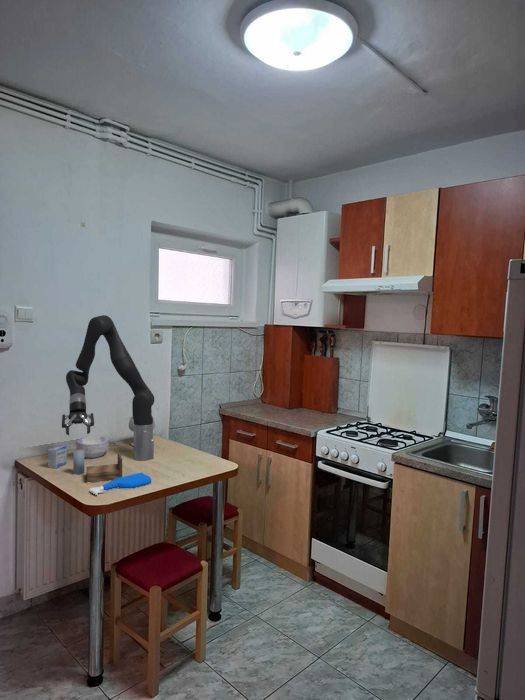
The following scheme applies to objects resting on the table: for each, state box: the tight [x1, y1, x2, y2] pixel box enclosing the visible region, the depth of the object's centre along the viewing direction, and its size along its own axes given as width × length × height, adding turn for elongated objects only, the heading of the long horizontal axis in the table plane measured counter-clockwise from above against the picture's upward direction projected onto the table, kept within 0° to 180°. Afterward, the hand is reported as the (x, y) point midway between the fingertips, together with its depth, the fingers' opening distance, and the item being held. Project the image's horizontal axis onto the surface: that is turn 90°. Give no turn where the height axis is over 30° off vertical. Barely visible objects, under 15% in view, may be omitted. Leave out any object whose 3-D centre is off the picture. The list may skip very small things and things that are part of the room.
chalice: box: [128, 416, 156, 447], centre depth 260 cm, size 14×14×15 cm
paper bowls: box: [75, 436, 110, 459], centre depth 237 cm, size 15×15×8 cm
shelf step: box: [86, 452, 123, 483], centre depth 205 cm, size 14×10×9 cm
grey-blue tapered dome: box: [72, 449, 85, 475], centre depth 211 cm, size 5×5×10 cm
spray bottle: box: [89, 472, 152, 496], centre depth 195 cm, size 3×11×24 cm
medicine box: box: [47, 444, 68, 469], centre depth 220 cm, size 8×4×9 cm, turn 168°
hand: (78, 433), depth 220 cm, fingers open, 8 cm apart
